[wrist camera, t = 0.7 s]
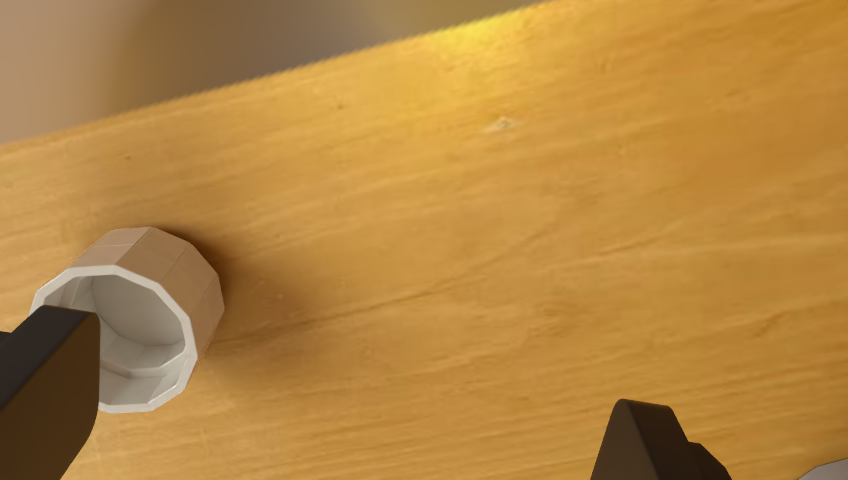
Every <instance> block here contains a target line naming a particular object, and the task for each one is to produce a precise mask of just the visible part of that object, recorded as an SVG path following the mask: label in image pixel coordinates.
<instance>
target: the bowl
mask: <svg viewBox="0 0 848 480" xmlns="http://www.w3.org/2000/svg"><path fill="white" fill-rule="evenodd" d="M42 305H52V306H58V307H64V308H71V309H77V310H83V311H89V312H95V313H96V314H97V315H98V317H99V320H100V383H99V406H98V409H99V410H101V411H104V412H106V413H110V414H113V413H130V412H148V411H153V410H155V409H156V408H158V407H159V406H161V405H162V404H164V403H166V402H167V401H169V400H170V399H172V398H174V397H175V396H177V395H178V394H180V393H181V392H183V391H184V390H185V389H186V387H187V385H188V383H189V381H190V380H191V378H192V376H193V374H194V372H195V371H196V369H197V367H198V365H199V363H200V361H201V359H202V358H203V356H204V354H205V352H206V350H207V349H208V347H209V345H210V343H211V341H212V339H213V337H214V335H215V332H216V330H217V328H218V325H219V323H220V321H221V318H222V316H223V314H224V310H225V307H224V302H223V297H222V292H221V287H220V282H219V276H218V274H217V273H216V271H215V270H214V269H213V268H212V267H211V266H210V264H209V263H208V262H207V261H206V260H205V259H204V257H203V256H202V255H201V254H200V253H199V252H198V250H197V249H196V248H195V247H194V246H193V245H192V244H191V243H190V242H187V241H185V240H183V239H180V238H178V237H176V236H173V235H171V234H169V233H166V232H164V231H162V230H159V229H157V228H155V227H151V226H150V227H135V228H121V229H112V230H110V231H108V232H107V233H106V234H104V235H103V236H101V237H100V238H99V239H97V240H96V241H94V242H93V243H92V244H90V245H89V246H87V247H86V248H85V249H83V250H82V251H81V252H80V253H79V254H77V255H76V256H75V257H74V258H73V259H72V260H71V261H70V262H68V263H67V264H66V265H65V266H64V267H63V268H62V269H60V270H59V271H58V272H57V273H56V274H55V275H54V276H53V277H51V278H50V279H49V280H48V281H47V282H46V283H45V284H44V285H42V286H41V287H40V288H39V289H38V290H37V291H36V293H35V296H34V300H33V303H32V306H31V309H30V312H29V315H28V317H29V316H30V315H31V314H32V313H33V312H34V311H35V310H36V309H37V308H39V307H40V306H42Z"/></svg>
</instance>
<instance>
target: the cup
mask: <svg viewBox="0 0 848 480" xmlns="http://www.w3.org/2000/svg"><path fill="white" fill-rule="evenodd" d="M798 480H848V459H844V460H841V461H837V462H833V463H829V464H826V465H822V466H818V467H816V468H814V469H813V470H811V471H810V472H808V473H807V474H806V475H804V476H803V477H801V478H800V479H798Z"/></svg>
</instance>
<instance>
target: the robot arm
mask: <svg viewBox="0 0 848 480" xmlns="http://www.w3.org/2000/svg"><path fill="white" fill-rule="evenodd" d="M99 383H100V320H99V317H98V315H97V314H96V313H95V312H89V311H83V310H77V309H71V308H64V307H58V306H52V305H42V306H40V307H39V308H37V309H36V310H35V311H34V312H33V313H32V314H31V315H30V316H29V317H28V318H27V319H26V320H25V321H24V322H22V323H21V324H20V325H19V326H18V327H17V328H16V329H15V330H14V331H13V332H12V333H9V332H2V331H0V480H60V479H61V477H62V476H63V475H64V473H65V472H66V470H67V469H68V467H69V466H70V464H71V463H72V462H73V460H74V459H75V457H76V456H77V454H78V453H79V451H80V450H81V449H82V447H83V446H84V444H85V443H86V441H87V439H88V438H89V436H90V433H91V431H92V429H93V426H94V423H95V420H96V416H97V411H98V406H99ZM590 480H732V479H731V477H730V475H729V474H728V472H727V470H726V468H725V467H724V466H723V465H722V464H721V463H720V462H719V461H718V460H717V459H716V458H715V457H714V456H712V455H711V454H710V453H709V452H708V451H707V450H706V449H705V448H704V447H703V446H702V445H701V444H699V443H693V442H688V440H687V438H686V436H685V434H684V432H683V430H682V428H681V426H680V424H679V422H678V420H677V418H676V416H675V414H674V412H673V410H672V409H671V408H670V407H669V406H665V405H659V404H653V403H647V402H640V401H634V400H628V399H620V400H618V401H617V403H616V404H615V406H614V408H613V411H612V413H611V416H610V420H609V423H608V426H607V429H606V432H605V435H604V438H603V441H602V444H601V447H600V451H599V454H598V457H597V460H596V463H595V466H594V469H593V472H592V475H591V479H590Z"/></svg>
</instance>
